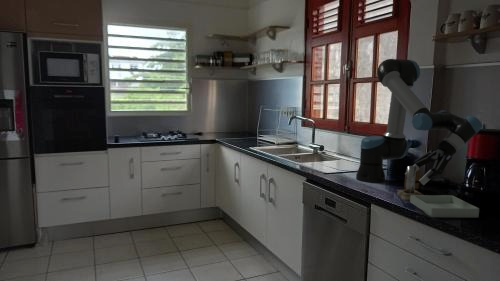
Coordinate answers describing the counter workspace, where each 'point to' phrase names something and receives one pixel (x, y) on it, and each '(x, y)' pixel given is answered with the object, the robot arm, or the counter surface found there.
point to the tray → (444, 206)
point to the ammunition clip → (417, 178)
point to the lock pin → (410, 179)
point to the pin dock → (406, 196)
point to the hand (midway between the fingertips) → (413, 179)
